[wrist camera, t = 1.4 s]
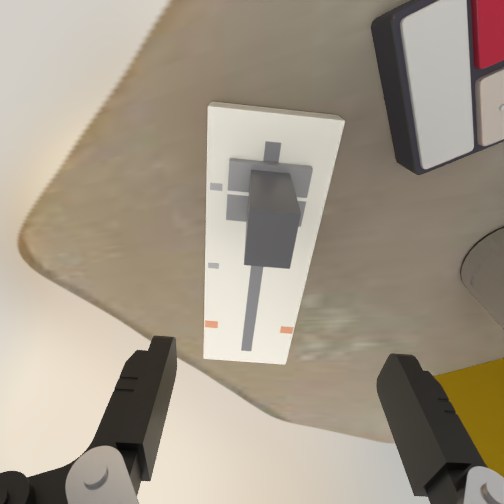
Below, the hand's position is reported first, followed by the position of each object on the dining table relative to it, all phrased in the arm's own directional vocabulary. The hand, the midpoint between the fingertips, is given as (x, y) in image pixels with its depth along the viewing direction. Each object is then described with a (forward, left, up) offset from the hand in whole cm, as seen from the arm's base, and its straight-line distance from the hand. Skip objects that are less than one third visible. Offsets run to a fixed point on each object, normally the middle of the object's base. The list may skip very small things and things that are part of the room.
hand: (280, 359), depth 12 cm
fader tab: (0, 0, -17) cm, 17 cm away
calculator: (-15, -11, -20) cm, 27 cm away
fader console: (0, +8, -19) cm, 21 cm away
